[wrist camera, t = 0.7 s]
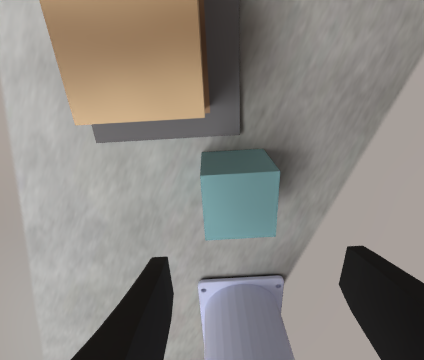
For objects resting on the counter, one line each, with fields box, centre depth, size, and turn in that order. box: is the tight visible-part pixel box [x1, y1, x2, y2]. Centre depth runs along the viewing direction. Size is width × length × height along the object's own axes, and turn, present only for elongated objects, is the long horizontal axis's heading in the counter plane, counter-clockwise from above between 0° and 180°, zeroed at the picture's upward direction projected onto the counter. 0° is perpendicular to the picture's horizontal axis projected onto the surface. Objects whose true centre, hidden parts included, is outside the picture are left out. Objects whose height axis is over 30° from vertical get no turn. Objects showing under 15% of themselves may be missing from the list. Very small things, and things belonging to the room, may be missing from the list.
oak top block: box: [39, 0, 205, 125], centre depth 10 cm, size 6×6×3 cm
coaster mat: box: [92, 0, 240, 143], centre depth 15 cm, size 10×10×1 cm
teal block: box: [200, 149, 280, 240], centre depth 16 cm, size 4×4×4 cm
